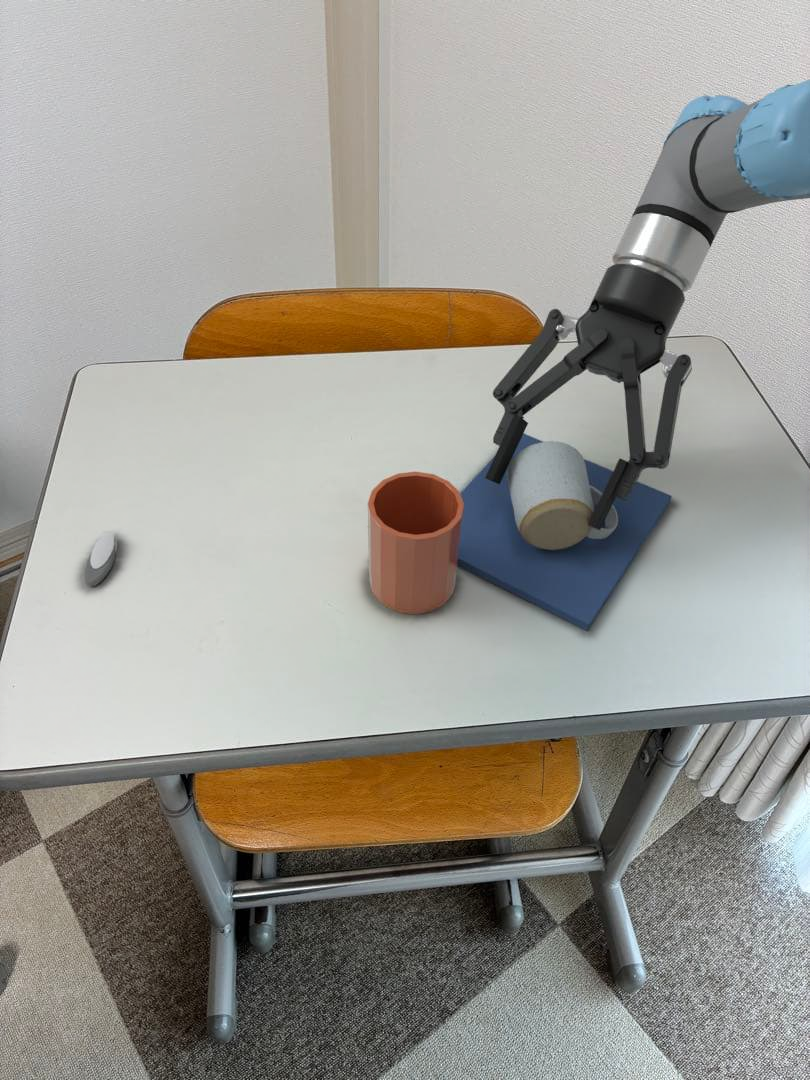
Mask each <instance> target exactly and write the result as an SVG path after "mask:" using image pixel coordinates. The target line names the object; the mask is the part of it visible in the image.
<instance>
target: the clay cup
mask: <svg viewBox="0 0 810 1080" xmlns="http://www.w3.org/2000/svg"><path fill="white" fill-rule="evenodd" d="M460 493H461V491H459V489H457V487H455V485H453V484H452V483H451V482H450V481H449V480H447V479H445V478H443V477H441V476H439V475H436V474H434V473H428V472H422V471H407V472H399V473H396V474H393V475H391V476H389V477H387V478H384V479H382V480H381V481H380V482H379V483H378V484H377V485H376V486H375V487H373V489H372V490H371V492H370V495H369V498H368V500H367V543H368V545H367V547H368V553H367V554H368V577H369V586H370V590H371V592H372V594H373V596H374V597H375V598H376V599H377V600H378V602H379V603H381V604H382V605H383V606H385V607H386V608H388V609H390V610H391V611H394V612H398V613H402V614H406V615H407V614H409V615H421V614H426V613H430V612H433V611H435V610H438V609H439V608H440V607H442V606H443V605H445V604H446V603H447V602H448V601H449V600H450V598H451V597H452V595H453V594H454V591H455V587H456V581H457V576H458V567H459V565H458V558H459V549H460V540H461V531H462V522H463V512H464V503H463V500H462V497H461V494H460Z"/></svg>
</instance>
